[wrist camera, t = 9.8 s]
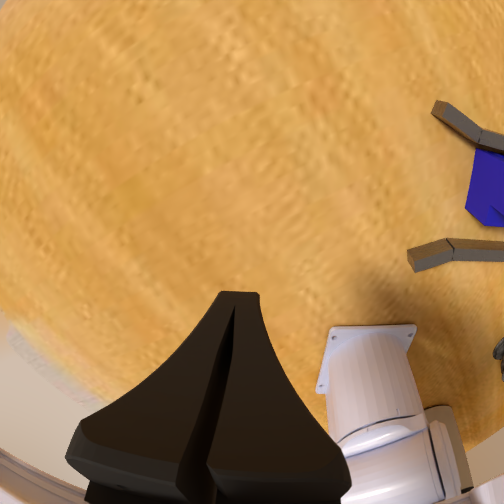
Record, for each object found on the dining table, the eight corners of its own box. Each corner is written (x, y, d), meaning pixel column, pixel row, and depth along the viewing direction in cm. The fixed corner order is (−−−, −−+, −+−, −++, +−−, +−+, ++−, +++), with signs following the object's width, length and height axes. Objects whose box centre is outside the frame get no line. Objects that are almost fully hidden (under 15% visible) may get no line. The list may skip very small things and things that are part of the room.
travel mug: (461, 403, 32) (491, 511, 16) (427, 431, 36) (447, 530, 20) (423, 403, 31) (451, 529, 15) (388, 432, 35) (404, 544, 20)
